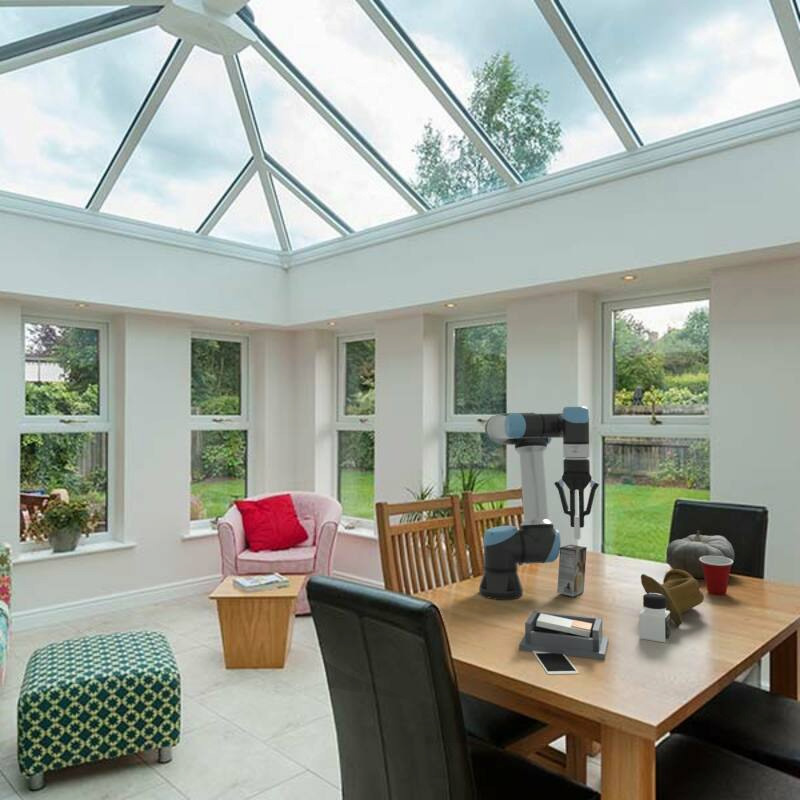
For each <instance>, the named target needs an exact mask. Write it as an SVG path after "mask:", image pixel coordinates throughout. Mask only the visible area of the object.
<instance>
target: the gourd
mask: <svg viewBox="0 0 800 800" xmlns="http://www.w3.org/2000/svg"><path fill="white" fill-rule="evenodd" d="M703 556H722V557H726V558H729V559H732V560H733V562H734V560H735V550H734V548H733V545H732V543H731V542H729V540H728V539H727V538H726V537H725V536H723V535H702V534H701V530H697V531H696V534H690V535H688V536H686V537H684V538H682V539H675V540H672V542H670V543H669V545H668V546H667V547H666V561H667V564H668V566H669V567H671V568H672V570H673V569H678V570H684V571H686V572H688V573H689V574H690V575H691V576H692V577H693V578H697V579H705V577H704V572H703V567H702V564H701V561H700V560H699V559H700V557H703Z"/></svg>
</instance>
